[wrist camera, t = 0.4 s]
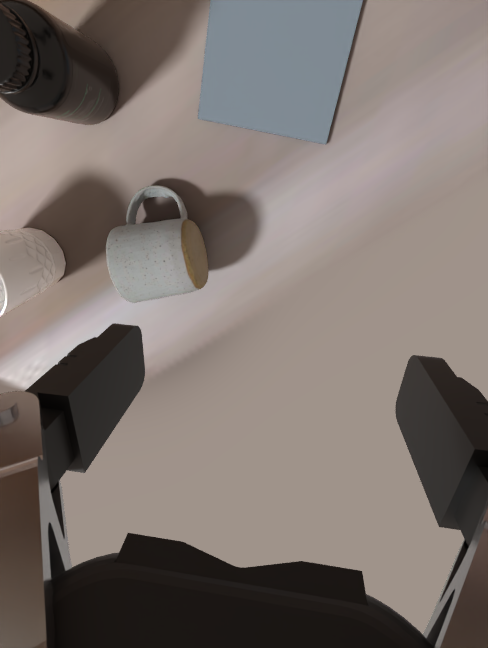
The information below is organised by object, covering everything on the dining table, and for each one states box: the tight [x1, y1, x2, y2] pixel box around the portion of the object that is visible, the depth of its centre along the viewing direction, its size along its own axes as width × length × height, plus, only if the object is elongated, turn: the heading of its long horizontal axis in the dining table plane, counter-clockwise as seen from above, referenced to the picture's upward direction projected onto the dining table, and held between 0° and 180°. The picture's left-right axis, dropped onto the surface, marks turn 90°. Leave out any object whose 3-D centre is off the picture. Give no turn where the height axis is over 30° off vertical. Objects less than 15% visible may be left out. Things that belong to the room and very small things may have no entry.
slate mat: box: [198, 0, 363, 144], centre depth 29 cm, size 12×12×1 cm
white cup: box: [0, 228, 66, 317], centre depth 36 cm, size 8×8×10 cm
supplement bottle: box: [0, 0, 119, 125], centre depth 27 cm, size 7×7×12 cm
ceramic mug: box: [106, 185, 208, 303], centre depth 34 cm, size 11×8×8 cm
